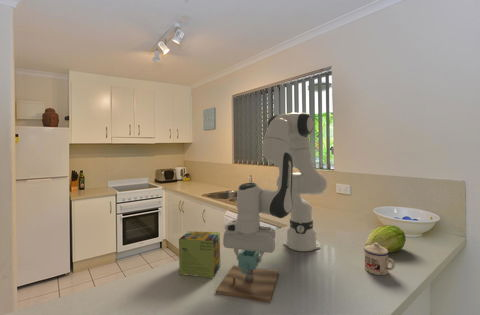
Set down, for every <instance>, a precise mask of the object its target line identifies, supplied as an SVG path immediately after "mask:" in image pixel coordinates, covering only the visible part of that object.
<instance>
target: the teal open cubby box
mask: <svg viewBox="0 0 480 315" xmlns="http://www.w3.org/2000/svg"><path fill="white" fill-rule="evenodd" d="M239 253H240V254H239V255H238V260H237V261H238V265H237V266H238V268H242V273H243V274H246V273H247V271H248V270H249V269H253V270H256V268H257V267H258V266H259V263H260V262H257V257H258V256H260V252H259V251H250V250H241V251H240V252H239Z"/></svg>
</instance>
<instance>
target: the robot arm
mask: <svg viewBox="0 0 480 315" xmlns="http://www.w3.org/2000/svg"><path fill="white" fill-rule="evenodd" d="M266 126H267V128H266V132H265V134H264V138H263V141H262V146H261V153H262V155H263V157H264V158H265V159H266V160H267V161H268V162H270V163H272V164H274V165H276V167H278V170H279V171H278V172H279V173H278V176H277V179H276V186H277V189H276V190H269V189H264V188H261V187H260V186H259V185H258V183H255V182H245V183H242V184H241V185H239V186H238V187H237V191H236V192H237V193H236V209H237V217H236V219H234V220H230V221H229V222H228V223H227V224H226V225H225V227H224V229H225V231H224V233H223V239H222V245H223V247H224V248H226V249H233V252H234V254H235V255H236V260H237V261H238V255H239V254H240V253H241V252H239V250H241V251H242V250H250V251H259V256H258V257H257V262H259V263H262V257H263V256H264V254H265V253H270V254H271V253H273V252H275V250H276V242H275V238H276V230H275V229H274V228H272V227H271V226H261V216H260V214H264V215H268V216H269V215H270V216H272V217H275V218H278V219H284V218H285V217H288V215H290V218H289V227H288V229H287V230H286V240H284V241H283V246H285V247H287V248H289V249H291V250H293V251H298V252H310V251H312V252H313V251H314V250H318V249H321V245H320V243H319V241H318V239H317V232H316V230H315V229H314V220H313V207H312V205H311V203H310V202H309V201H307V200H305V199H304V198H303V197H302V195H310V196H313V195H314V196H315V195H322V194H323V193H325V191H326V189H327V186H328V183H327V179H326V176H324V175H323V174H321V173H320V172H319V171H318V169H316V168H315V166H314V164H313V161H312V156H311V144H310V143H311V142H310V134H312V131H313V129H314V119H313V117H312V116H311V114H309V113H306V112H301V113H299V112H290V113H283V114H275V115H273V116H271V117H270V118H269V119H268V121H267V125H266ZM293 168H295V169H297V170H298V171H299V172H293V171H294V170H293Z"/></svg>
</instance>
